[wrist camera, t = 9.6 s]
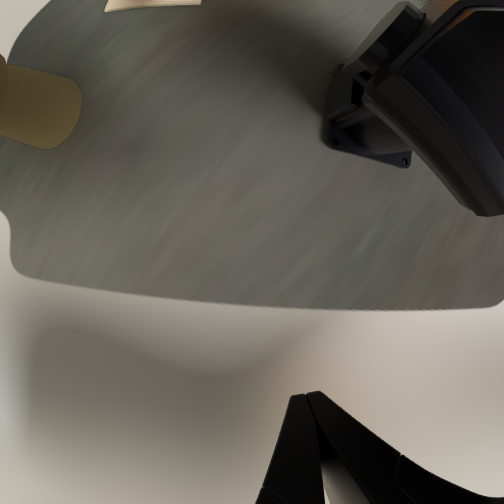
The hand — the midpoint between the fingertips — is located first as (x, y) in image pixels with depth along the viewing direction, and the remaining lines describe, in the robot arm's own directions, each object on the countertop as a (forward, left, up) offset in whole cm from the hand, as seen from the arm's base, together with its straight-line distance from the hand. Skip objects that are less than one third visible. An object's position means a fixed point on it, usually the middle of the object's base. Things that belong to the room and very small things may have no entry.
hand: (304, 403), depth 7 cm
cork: (+18, -10, -13) cm, 24 cm away
